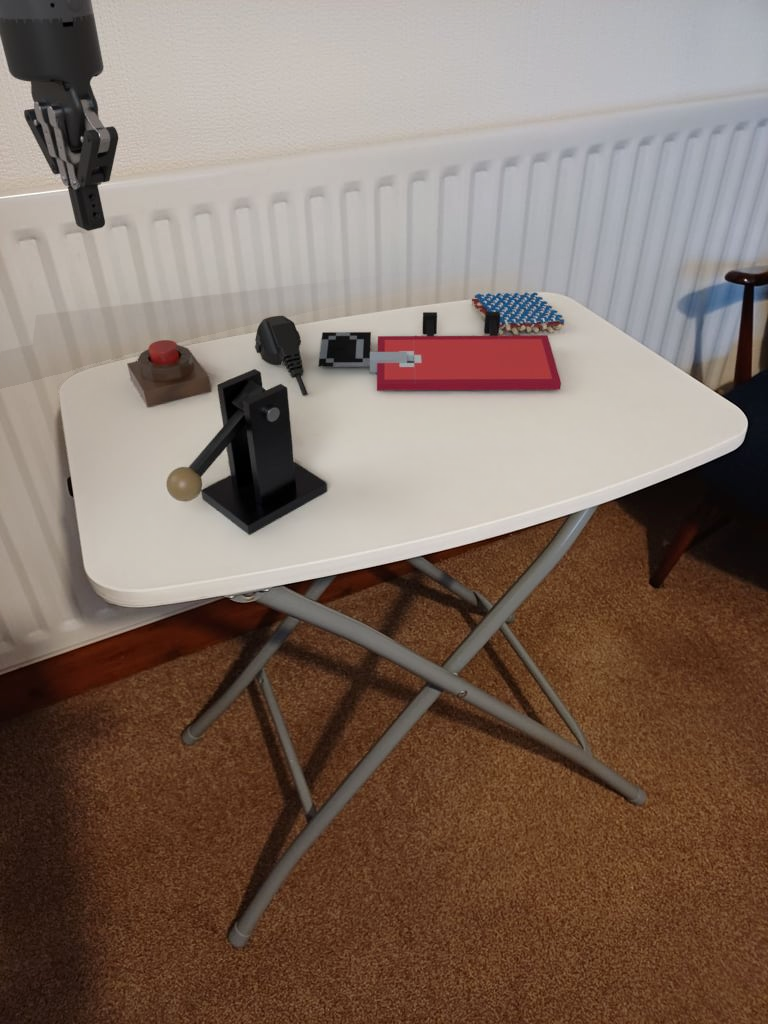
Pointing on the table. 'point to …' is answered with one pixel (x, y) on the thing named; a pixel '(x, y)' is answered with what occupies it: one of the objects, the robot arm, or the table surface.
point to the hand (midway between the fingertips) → (91, 227)
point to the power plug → (281, 346)
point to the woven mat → (519, 311)
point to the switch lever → (210, 451)
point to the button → (163, 352)
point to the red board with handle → (448, 359)
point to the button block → (168, 378)
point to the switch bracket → (260, 460)
